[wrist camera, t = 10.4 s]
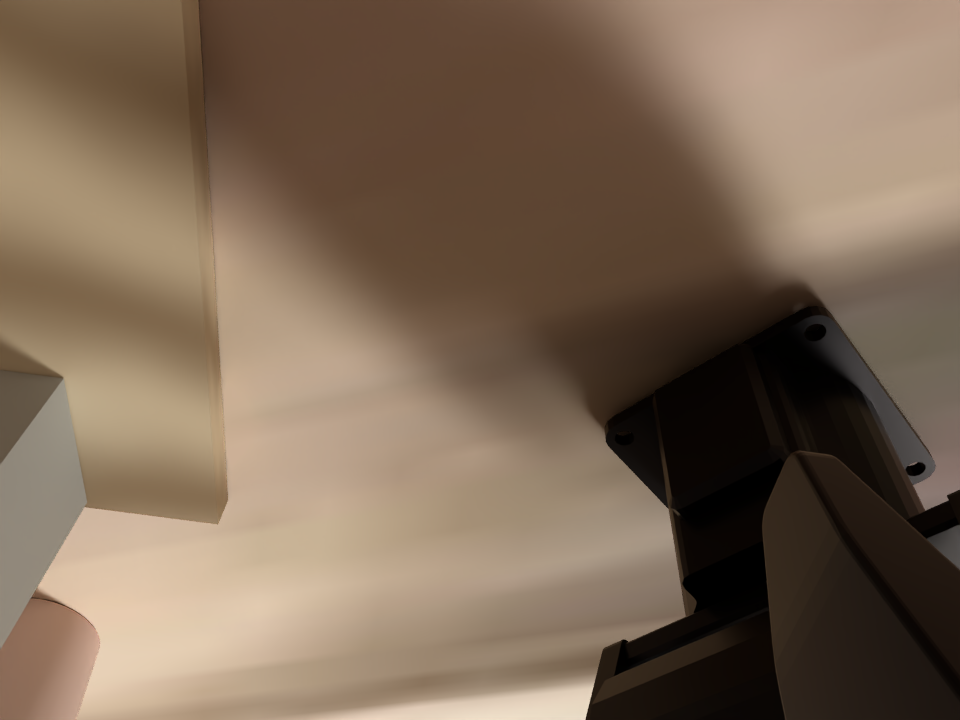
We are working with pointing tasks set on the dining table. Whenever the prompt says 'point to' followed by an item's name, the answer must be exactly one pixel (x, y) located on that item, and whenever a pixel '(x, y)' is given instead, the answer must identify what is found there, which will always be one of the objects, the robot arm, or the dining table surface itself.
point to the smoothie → (46, 663)
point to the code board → (114, 243)
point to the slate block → (34, 485)
